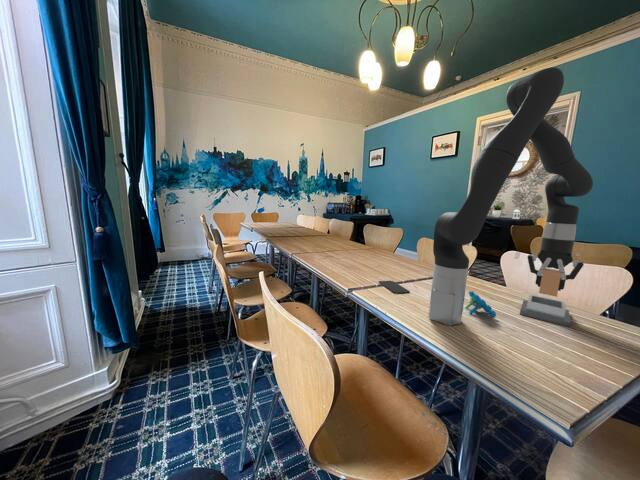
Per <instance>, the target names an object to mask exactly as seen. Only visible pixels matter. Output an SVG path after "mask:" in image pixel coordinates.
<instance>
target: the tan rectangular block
mask: <svg viewBox="0 0 640 480" xmlns="http://www.w3.org/2000/svg"><path fill="white" fill-rule="evenodd" d="M560 278H561V272H559V269H555V268H546V269H545V270H543V273H542V278H541V284H540V287H539V291H538V293H539V294H542V295H547V296H552V297H558V293H559V291H558V288H559V283H560Z"/></svg>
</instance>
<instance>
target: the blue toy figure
mask: <svg viewBox="0 0 640 480" xmlns="http://www.w3.org/2000/svg"><path fill="white" fill-rule="evenodd" d="M468 295H469V297H470V301H469V304H467V305H466V306H465V309H468V308H470V307H471V306H473V308H472V309H470V310H469V311H468V313H469V314H470V315H473V314H474V313H475V312H476V311H477V310H481V309H483V311H484V312H485V313H487V314H489V316H491V317H493V318H495V317H497V315H498V314H497V313H496V312H495V310H494V309H493V307H492V306H490V305H489V304H487V302H486V301H485V300H484V299H482V298H481V297H480V296H479V295H478V294H477V293H475V292H474V291H468Z"/></svg>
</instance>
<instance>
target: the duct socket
mask: <svg viewBox="0 0 640 480" xmlns="http://www.w3.org/2000/svg"><path fill="white" fill-rule="evenodd" d="M519 315H521V316H525V317H529V318H533V319H536V320H540V321H545V322H547V323H548V322H549V323H552V324H556V325H559V326H564V327H566V328H567V327H568V328H570V326H571V317H570V309H566V302H565V301H562V300H557V299H552V298H549V297H544V296H538V295H534V294H529V295H528V299H523V301H522V305H521V307H520V310H519Z"/></svg>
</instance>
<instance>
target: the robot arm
mask: <svg viewBox="0 0 640 480" xmlns="http://www.w3.org/2000/svg"><path fill="white" fill-rule="evenodd" d="M564 82H565V77H564V73H563V71H562V70H561V69H560V68H558V67H555V66H552V67H550V66H549V67H546V68H542V69H540V70H538V71H536V72H533V73H532V74H529V75H526V76H524V77H522V78H519V79H518V80H516V81H514V82H513V83H512V84H511V85H510V86H509V87H508V89H507V91H506V94H505V102H506V106H507V108H508V109H509V111H510V113H511V115H512V116H513V117H512V118H511V119H510V121H509V122H508V123H506V125H504V126H503V127H502V128H501V129H500V130H499V131H498V132H497V133H496V134H494V135H493V137H492V138H491V139H489V140H488V142H487V143H486V144H485V145H484V147H483V148H482V150H481V152H480V153H479V155H478V157H477V159H476V160H475V162H474V164H473V167H472V170H471V176H470V187H469V192H468V195H467V197H466V199H465V201H464V203H463V204H462V206H461V207H460V209H459V210H458V211H448V212H445V213H442V214H441V215H440V216H439V217H438V218H437V220H436V221H435V225H434V232H433V245H432V246H433V247H432V252H433V257H434V265H433V273H432V274H433V275H432V281H431V282H432V283H431V290H430V291H431V292H430V301H429V308H428V309H429V310H428V311H429V312H428V316H429V319H430V320H431V321H434V322H436V323H440V324H444V325H447V326H450V327H451V326H455V325H460V324H461V323H462V320H463V319H462V318H463V311H464V303H465V295H466V294H465V293H466V288H467V281H468V273H469V266H470V259H469V256H468V255H467V254H466V252H464V249H463V248H464V246H467V245H468V244H471V243H472V242H474V241H475V240H476V239H477V237H479V234H480V232H481V231H482V228H483V227H484V226H483V225H484V224H485V222H486V220H487V217H488V215H489V212H490V210H491V209H492V208H491V207H492V206H493V203H494V202H495V200H496V198H497V196H498V195H499V193H500V192H501V189H502V188H503V186H504V184H505V182H506V180H507V179H508V177H509V175H510V174H511V173H512V170H513V169H514V167H515V166H516V164H517V162H518V161H519V158H520V156H521V155H522V152H523V151H524V150H525V148H526V147H527V145H528V143H529V141H530V142H531V143H532V144H533V146H534V147H535V151H536V152H537V155H538V157H539V159H540V161H541V164H542V166H543V169H544V170H545V172H547V173H548V174H551V175H553V176H551V177H550V178H549V179H548V180H547V181H546V183H545V186H544V187H545V188H544V192H545V196H546V197H545V198H546V202H547V209H548V210H547V218H546V222H545V226H544V229H543V233H542V239H541V244H540V245H541V246H540V249H539V250H540V251H539V252H538V253H537V254H528V255H527V257H526V258H527V260H528V261H527V263H528V266H529V271H530V273H532V274H534V275H535V276H536V279H535V285H537V287H539V288H540V284H541V278H542V273H543V270H545V269H546V268H549V269H556V270H559V272H561V278H560V283H559V288H558V292H560V291H561V290H562V291H563V290H564V289H565V286H566V285H565V284H566V281H567V280H571V281H572V280H575V278H576V277H577V275H578V274H579V272H580V271H581V270H582V268H584V262H583V261H579V260H576V259H575V258H573V256H572V255H573V249H574V244H575V239H576V233H577V223H578V217H579V214H580V213H579V212H580V208H579V207H578V206H577V205H575V204H570V203H568V202H567V203H566V200H565V198H567V197H570V198H571V197H572V198H574V197H575V198H577V197H578V198H579V197H583V196H586V195H588V194H589V193H590V191H591V190H592V188H593V186H594V181H593V177H592V175H591V173H590V172H589V171H588V170H587V169H586V168H585V167H584V165H583V164H581V162H580V161H579V160H578V159H577V158H576V157H575V154H574V151H573V148H572V146H571V143H570V142H569V140H568V137H566V135H565V134H564V133H562V131H560V130H559V129H557V128H556V127H554V126H553V125H552V124H550V123H549V122H548V121H547V120H546V119H545V117H546V116H547V114H548V113H549V112H550V110H551V109H552V108H553V106H554V105H555V103H556V101H557V100H558V99H559V97H560V95H561V93H562V91H563V88H564ZM537 259H538V260H539V261H540V263H541V266H540V267H539V269H538V270H537V269H536V266H535V263H534V262H536V260H537ZM571 263H572V267H573V269H572V271H571V272H570V273H569V274H566V272H565V268H566V267H567V266H568V265H569V264H571Z"/></svg>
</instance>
